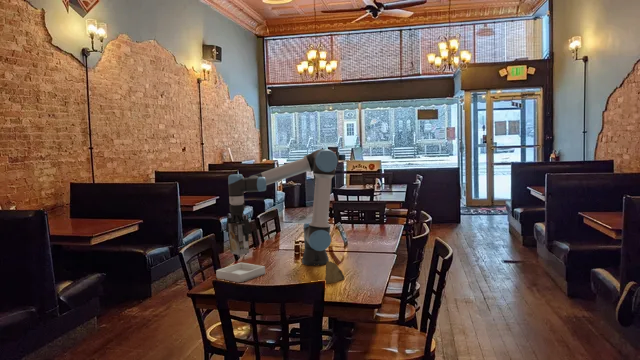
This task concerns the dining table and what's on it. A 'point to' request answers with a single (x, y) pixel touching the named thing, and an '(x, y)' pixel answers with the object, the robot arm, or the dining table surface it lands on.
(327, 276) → the rock
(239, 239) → the coffee box
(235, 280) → the tray
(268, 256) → the dining table surface
